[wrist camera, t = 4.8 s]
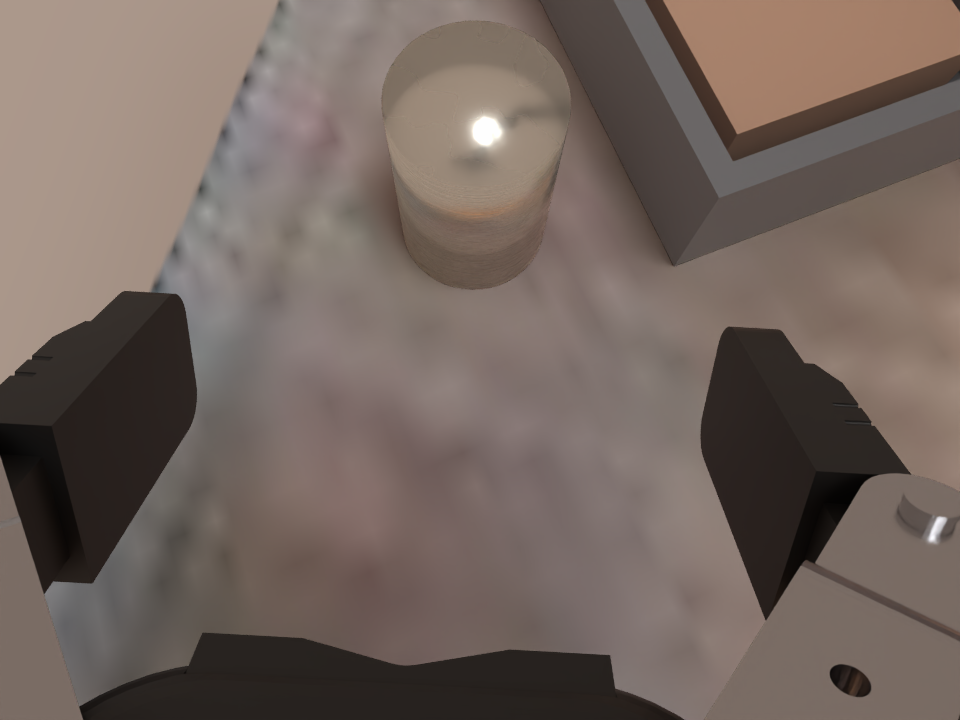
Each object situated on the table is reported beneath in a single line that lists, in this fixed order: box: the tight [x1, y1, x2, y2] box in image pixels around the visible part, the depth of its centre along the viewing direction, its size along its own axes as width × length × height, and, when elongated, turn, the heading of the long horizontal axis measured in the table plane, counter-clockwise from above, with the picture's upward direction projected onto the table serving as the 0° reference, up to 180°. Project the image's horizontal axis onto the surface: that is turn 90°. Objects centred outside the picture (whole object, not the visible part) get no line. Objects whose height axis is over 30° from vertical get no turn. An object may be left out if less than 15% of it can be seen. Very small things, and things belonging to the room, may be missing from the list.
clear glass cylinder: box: [381, 21, 571, 290], centre depth 26 cm, size 6×6×8 cm
